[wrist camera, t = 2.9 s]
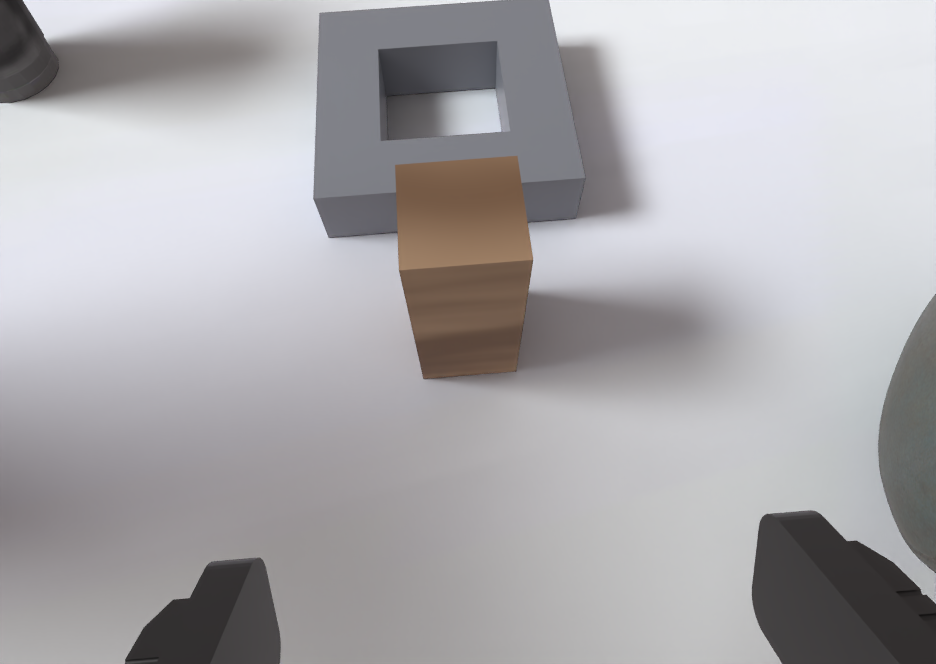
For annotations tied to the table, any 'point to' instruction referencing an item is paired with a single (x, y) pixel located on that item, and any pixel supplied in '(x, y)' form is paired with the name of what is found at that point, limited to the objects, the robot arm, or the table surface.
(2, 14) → the beverage cup
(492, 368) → the peg
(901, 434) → the flask
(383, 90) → the socket
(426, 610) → the table surface
